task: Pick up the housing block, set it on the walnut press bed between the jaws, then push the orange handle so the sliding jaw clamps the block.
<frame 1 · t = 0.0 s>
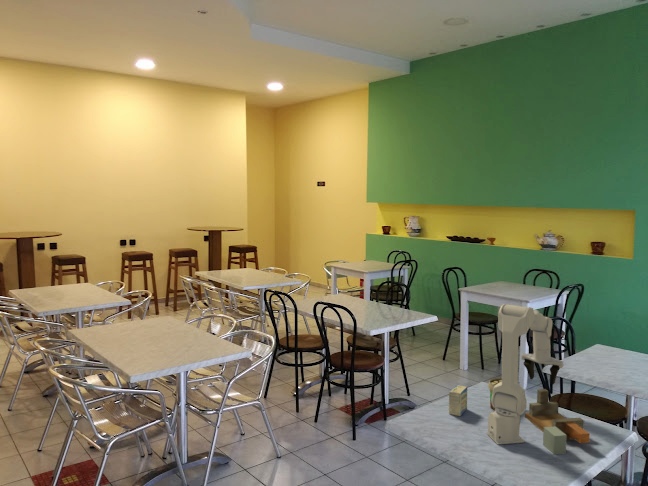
hand: (542, 380, 193), 11 cm above the table, tool pointing down, fingers open, 7 cm apart
housing block: (554, 449, 163), on the table
clamp jaw: (575, 431, 167), point 4 cm above the table, slide at 0.0 cm
medicine box: (457, 412, 191), on the table
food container: (496, 407, 195), on the table
press: (554, 427, 178), on the table
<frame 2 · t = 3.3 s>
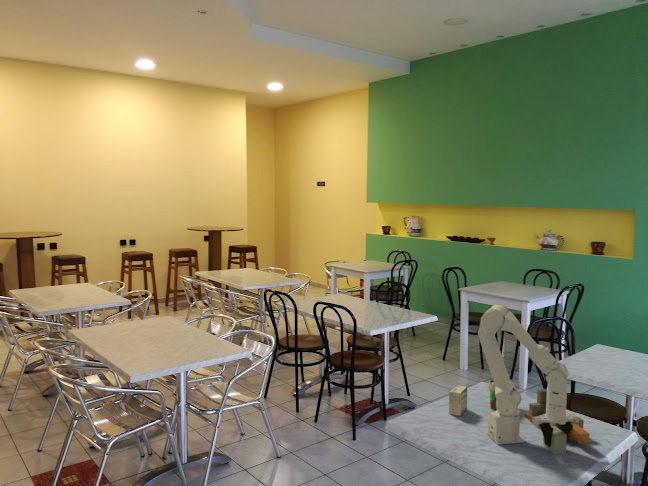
hand: (554, 444, 163), 1 cm above the table, tool pointing down, fingers closed on housing block, 4 cm apart
housing block: (554, 449, 163), on the table, touching gripper
everything else where it was.
when the fingers open (4 cm above the table, at t = 7.8 s): housing block stays where it is, resting on press.
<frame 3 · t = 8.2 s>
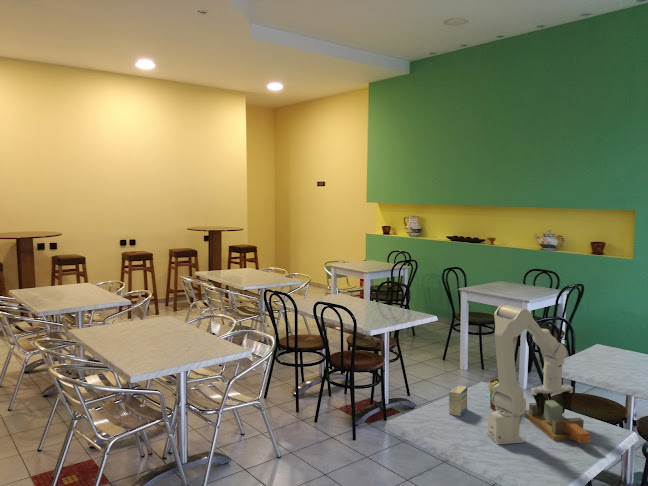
hand: (551, 413, 180), 4 cm above the table, tool pointing down, fingers open, 7 cm apart
housing block: (551, 420, 180), point 1 cm above the table, touching press
everything else where it was.
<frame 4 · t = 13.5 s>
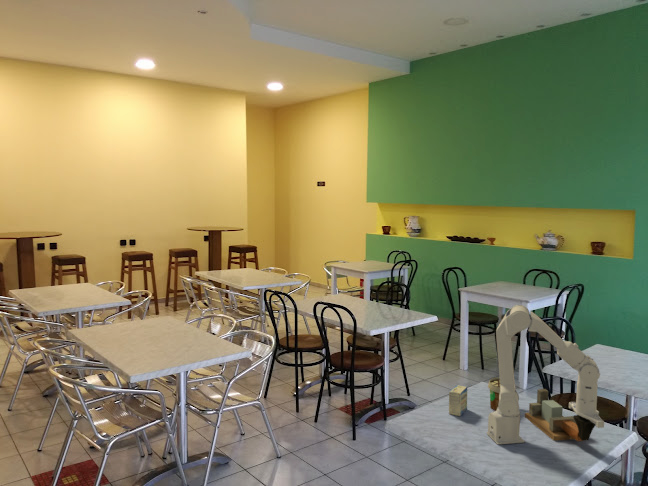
hand: (584, 439, 162), 3 cm above the table, tool pointing down, fingers closed
clamp jaw: (572, 429, 168), point 4 cm above the table, slide at 1.4 cm, touching gripper
everything else where it was.
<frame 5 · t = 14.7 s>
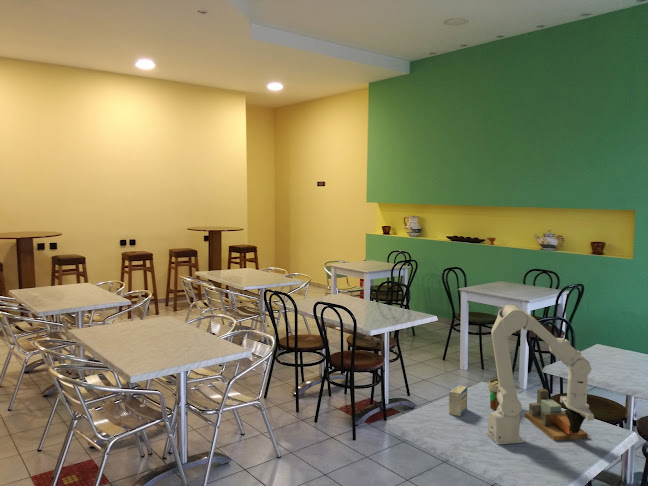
hand: (575, 432, 167), 3 cm above the table, tool pointing down, fingers closed
housing block: (550, 419, 181), point 1 cm above the table, touching clamp jaw, press
clamp jaw: (564, 423, 173), point 4 cm above the table, slide at 5.8 cm, touching gripper, housing block
everything else where it was.
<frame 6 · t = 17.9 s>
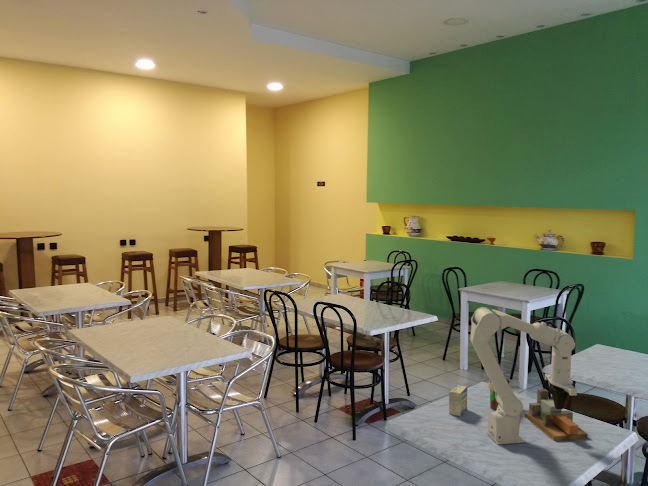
hand: (559, 408, 169), 10 cm above the table, tool pointing down, fingers closed
housing block: (550, 419, 181), point 1 cm above the table, touching press
clamp jaw: (564, 423, 173), point 4 cm above the table, slide at 5.7 cm
everything else where it was.
at the end: housing block 0.0 cm from the target spot on the press, point 1.5 cm above the press's base; clamp jaw slide at 5.7 cm; housing block tilted 0° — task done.
